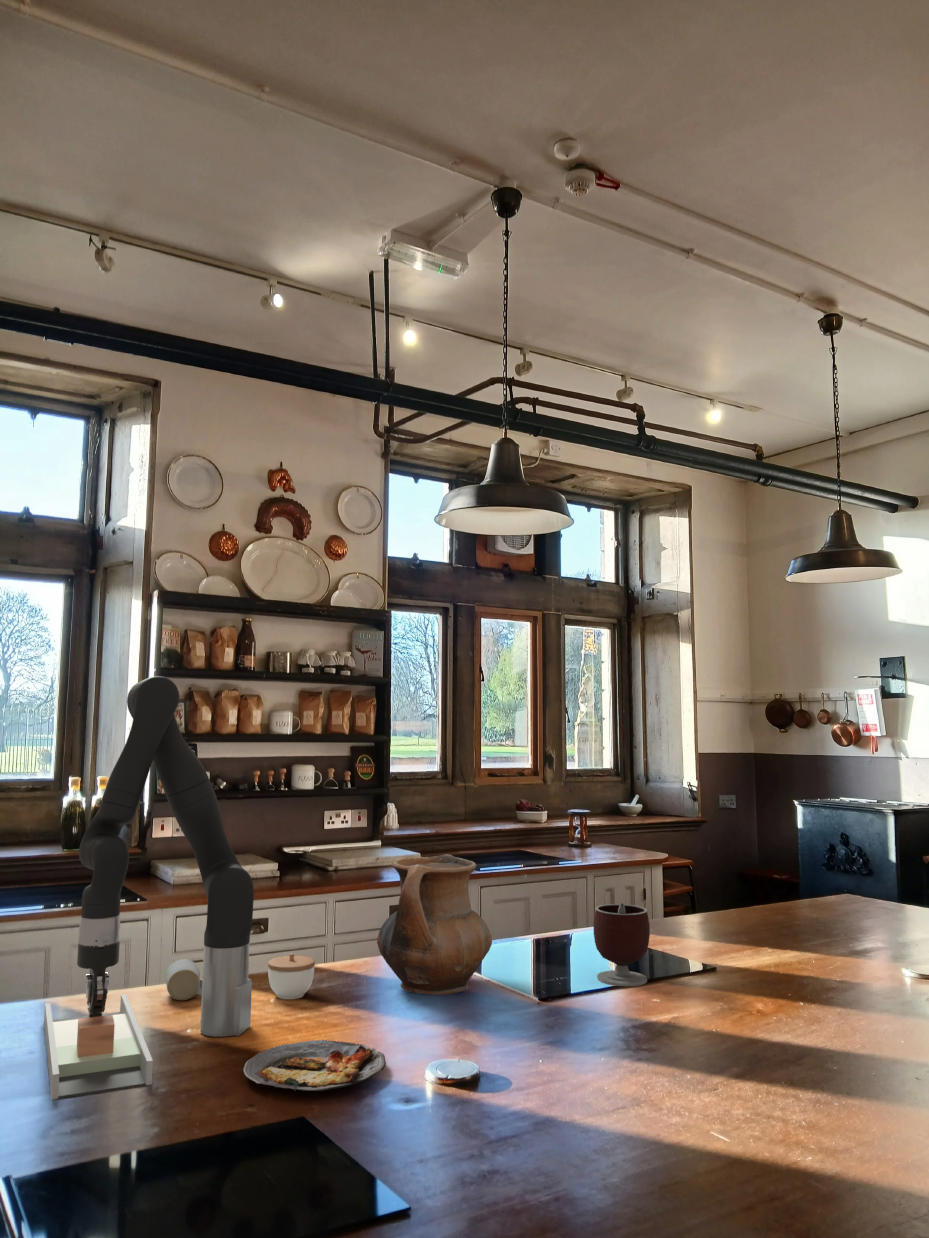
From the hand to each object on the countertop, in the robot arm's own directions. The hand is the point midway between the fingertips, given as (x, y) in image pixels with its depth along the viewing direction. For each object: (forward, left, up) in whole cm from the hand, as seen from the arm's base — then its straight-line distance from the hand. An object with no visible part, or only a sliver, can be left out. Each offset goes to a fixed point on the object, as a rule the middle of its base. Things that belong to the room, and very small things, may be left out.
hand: (94, 1032), depth 177 cm
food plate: (-45, +2, -4) cm, 45 cm away
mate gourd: (-100, -71, -4) cm, 122 cm away
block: (-4, +6, -1) cm, 7 cm away
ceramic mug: (-1, -38, -4) cm, 38 cm away
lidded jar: (-24, -43, -4) cm, 49 cm away
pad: (-4, +6, -4) cm, 8 cm away
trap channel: (0, -1, -4) cm, 4 cm away
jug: (-55, -58, -4) cm, 80 cm away
